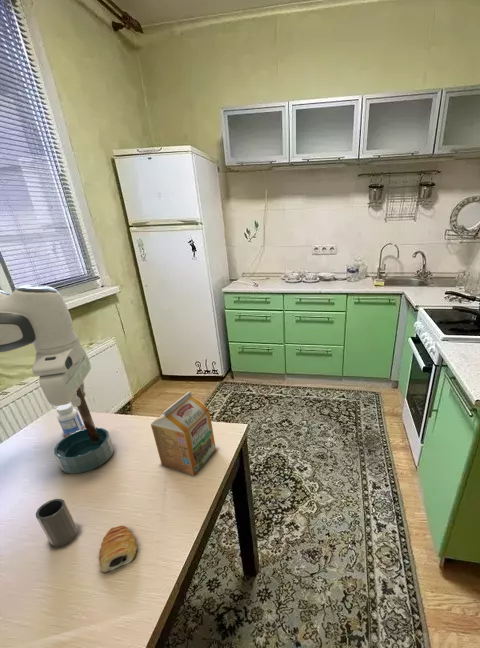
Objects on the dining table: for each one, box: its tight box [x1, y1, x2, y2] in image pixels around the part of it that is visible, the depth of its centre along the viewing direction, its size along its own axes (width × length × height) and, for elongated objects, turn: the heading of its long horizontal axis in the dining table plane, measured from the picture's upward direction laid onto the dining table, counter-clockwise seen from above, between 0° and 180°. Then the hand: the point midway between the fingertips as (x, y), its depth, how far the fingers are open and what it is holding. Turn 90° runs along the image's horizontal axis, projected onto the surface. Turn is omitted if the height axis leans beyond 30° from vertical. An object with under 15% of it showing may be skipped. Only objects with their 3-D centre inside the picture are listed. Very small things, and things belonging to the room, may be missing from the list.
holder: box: [35, 498, 79, 548], centre depth 68 cm, size 5×5×9 cm
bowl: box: [53, 426, 115, 475], centre depth 91 cm, size 13×13×6 cm
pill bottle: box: [55, 402, 85, 437], centre depth 101 cm, size 6×5×10 cm
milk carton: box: [150, 391, 217, 476], centre depth 87 cm, size 11×10×19 cm
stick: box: [76, 387, 99, 443], centre depth 86 cm, size 2×2×18 cm
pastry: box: [98, 525, 138, 573], centre depth 66 cm, size 9×7×4 cm
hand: (79, 401), depth 84 cm, fingers closed on stick, 2 cm apart
